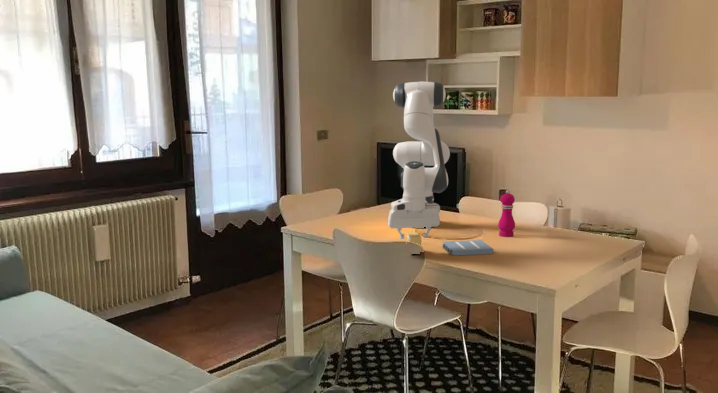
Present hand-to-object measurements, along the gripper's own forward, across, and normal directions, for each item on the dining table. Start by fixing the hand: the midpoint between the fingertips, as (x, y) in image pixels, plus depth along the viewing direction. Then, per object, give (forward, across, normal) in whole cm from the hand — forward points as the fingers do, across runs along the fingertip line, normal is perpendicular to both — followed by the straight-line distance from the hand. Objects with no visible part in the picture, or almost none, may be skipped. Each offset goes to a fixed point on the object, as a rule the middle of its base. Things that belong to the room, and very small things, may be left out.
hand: (413, 238), depth 261 cm
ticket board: (+6, -22, +1) cm, 23 cm away
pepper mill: (+6, -46, -20) cm, 51 cm away
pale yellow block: (+6, 0, +1) cm, 6 cm away
